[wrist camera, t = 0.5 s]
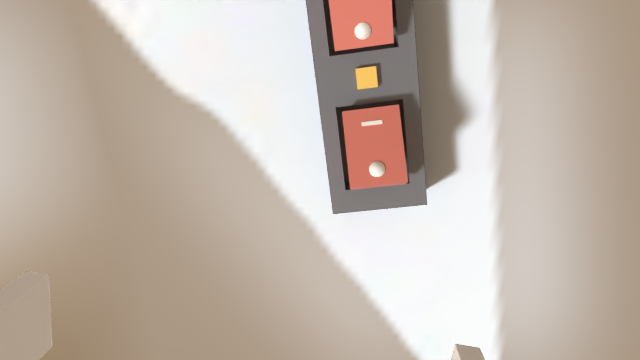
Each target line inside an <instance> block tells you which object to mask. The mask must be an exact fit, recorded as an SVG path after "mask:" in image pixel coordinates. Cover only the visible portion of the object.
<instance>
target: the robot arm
mask: <svg viewBox="0 0 640 360" xmlns="http://www.w3.org/2000/svg"><path fill="white" fill-rule="evenodd" d="M52 347H53V343H52V320H51V298H50V276H49V275H47V274H41V273H35V272H29V271H26V272H24V273H23V274H21V275H20V276H19V277H17V278H15V279H14V280H12V281H11V282H9V283H7V284H6V285H4V286H3V287H1V288H0V360H39V359H40V358H41V357H42V356H43V355H44V354H45V353H46V352H47V351H48V350H50V349H51V348H52ZM451 360H485V359H484V357H483V354H482V352H481V350H480V348H477V347H471V346H465V345H459V344H455V346H454V350H453V354H452V357H451Z"/></svg>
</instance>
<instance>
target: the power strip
mask: <svg viewBox="0 0 640 360" xmlns="http://www.w3.org/2000/svg"><path fill="white" fill-rule="evenodd" d="M306 6H307V14H308V22H309V30H310V38H311V45H312V53H313V61H314V69H315V77H316V84H317V92H318V100H319V108H320V116H321V124H322V131H323V139H324V147H325V155H326V163H327V171H328V178H329V186H330V194H331V202H332V210H333V214H338V213H348V212H358V211H368V210H378V209H388V208H398V207H408V206H418V205H427V196H426V182H425V167H424V153H423V139H422V125H421V111H420V96H419V82H418V68H417V54H416V39H415V25H414V11H413V0H392V16H393V38H394V43H391V44H384V45H376V46H369V47H362V48H355V49H347V50H340V51H335V48H334V40H333V32H332V24H331V16H330V8H329V0H306ZM391 105H399V110H400V118H401V127H402V135H403V143H404V151H405V160H406V168H407V176H408V182H407V183H406V184H404V185H395V186H385V187H376V188H366V189H357V190H351V189H350V183H349V174H348V164H347V155H346V145H345V136H344V126H343V117H342V111H350V110H358V109H366V108H374V107H382V106H391Z"/></svg>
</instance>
